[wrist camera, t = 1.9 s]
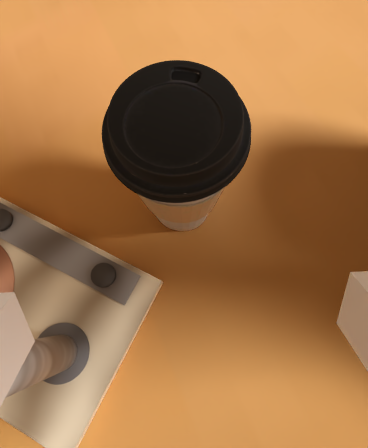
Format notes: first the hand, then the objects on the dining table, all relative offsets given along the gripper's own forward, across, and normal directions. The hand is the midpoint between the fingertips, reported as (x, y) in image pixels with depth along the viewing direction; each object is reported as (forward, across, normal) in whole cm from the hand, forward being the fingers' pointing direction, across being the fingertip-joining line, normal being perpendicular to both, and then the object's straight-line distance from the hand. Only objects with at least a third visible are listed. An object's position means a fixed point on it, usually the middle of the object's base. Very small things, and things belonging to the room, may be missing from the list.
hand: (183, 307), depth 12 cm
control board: (+13, -16, -11) cm, 23 cm away
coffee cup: (+20, 0, -4) cm, 20 cm away
